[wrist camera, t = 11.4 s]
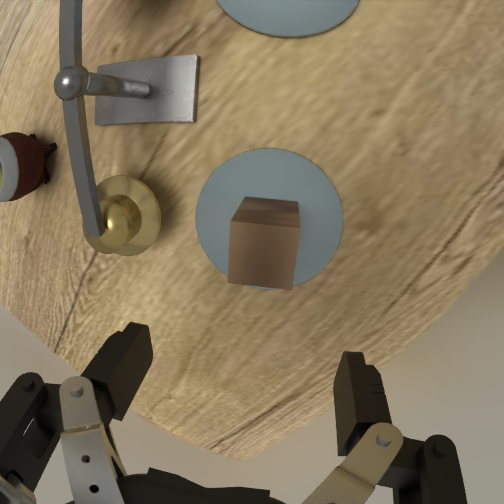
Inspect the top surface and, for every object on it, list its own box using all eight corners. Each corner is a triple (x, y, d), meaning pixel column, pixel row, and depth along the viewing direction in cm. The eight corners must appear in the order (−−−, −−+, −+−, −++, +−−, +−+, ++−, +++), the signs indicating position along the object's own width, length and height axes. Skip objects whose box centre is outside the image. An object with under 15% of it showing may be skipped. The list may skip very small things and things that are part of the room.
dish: (350, 157, 25) (352, 158, 24) (328, 290, 30) (329, 296, 29) (200, 143, 26) (197, 144, 25) (198, 276, 31) (196, 281, 30)
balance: (211, -43, 18) (159, -124, 6) (193, 241, 30) (131, 325, 17) (117, -26, 19) (34, -73, 7) (105, 232, 31) (20, 296, 18)
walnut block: (298, 201, 26) (300, 228, 20) (292, 250, 28) (292, 290, 21) (245, 196, 26) (230, 221, 20) (242, 245, 28) (227, 282, 22)
